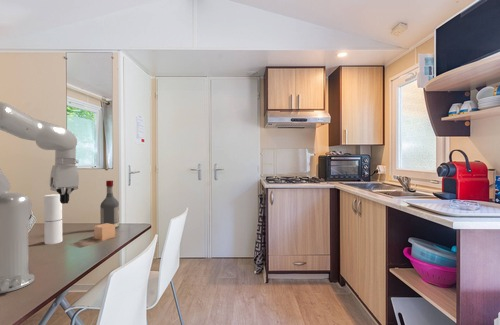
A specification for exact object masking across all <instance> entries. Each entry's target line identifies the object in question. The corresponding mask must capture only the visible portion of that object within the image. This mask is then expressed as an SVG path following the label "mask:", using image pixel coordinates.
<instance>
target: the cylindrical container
mask: <svg viewBox="0 0 500 325" xmlns="http://www.w3.org/2000/svg"><path fill="white" fill-rule="evenodd" d="M43 214H44V215H43V221H44V222H43V223H44V231H43V232H44V234H43V235H44V244H45V245H54V244H55V245H56V244H59V243H61V242H63V204H62V203H61V202H60V194H59V193H53V194H45V195H43Z"/></svg>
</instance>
